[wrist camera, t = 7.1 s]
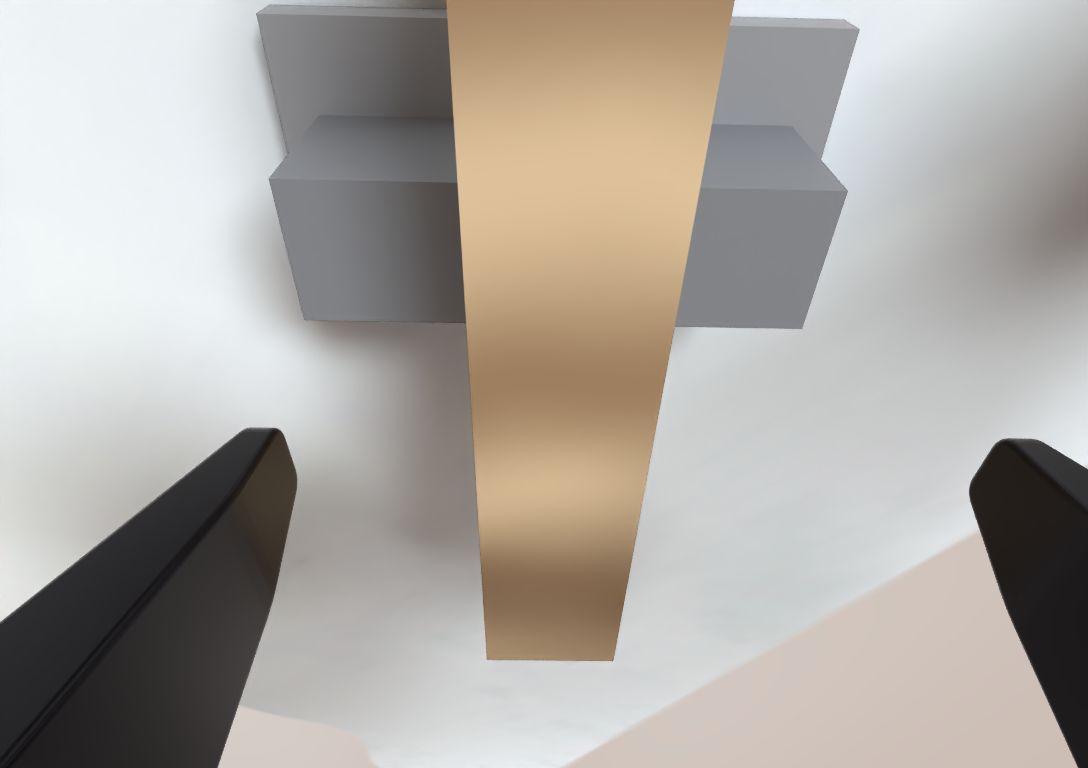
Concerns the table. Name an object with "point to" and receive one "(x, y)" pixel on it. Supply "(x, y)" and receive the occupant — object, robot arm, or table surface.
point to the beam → (572, 287)
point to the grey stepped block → (431, 173)
